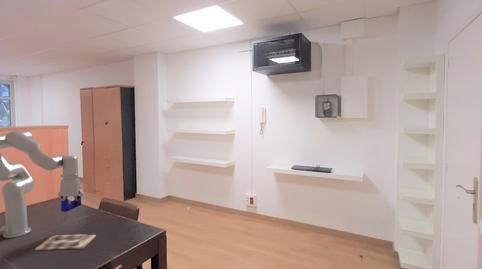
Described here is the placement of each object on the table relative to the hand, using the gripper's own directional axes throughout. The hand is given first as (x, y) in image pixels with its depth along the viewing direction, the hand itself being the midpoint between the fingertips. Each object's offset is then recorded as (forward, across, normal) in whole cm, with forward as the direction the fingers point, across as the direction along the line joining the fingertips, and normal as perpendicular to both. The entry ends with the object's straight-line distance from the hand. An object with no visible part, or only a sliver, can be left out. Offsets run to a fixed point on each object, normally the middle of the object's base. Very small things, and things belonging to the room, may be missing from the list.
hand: (71, 206), depth 158 cm
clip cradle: (+15, +6, -16) cm, 23 cm away
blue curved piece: (+1, 0, 0) cm, 1 cm away
